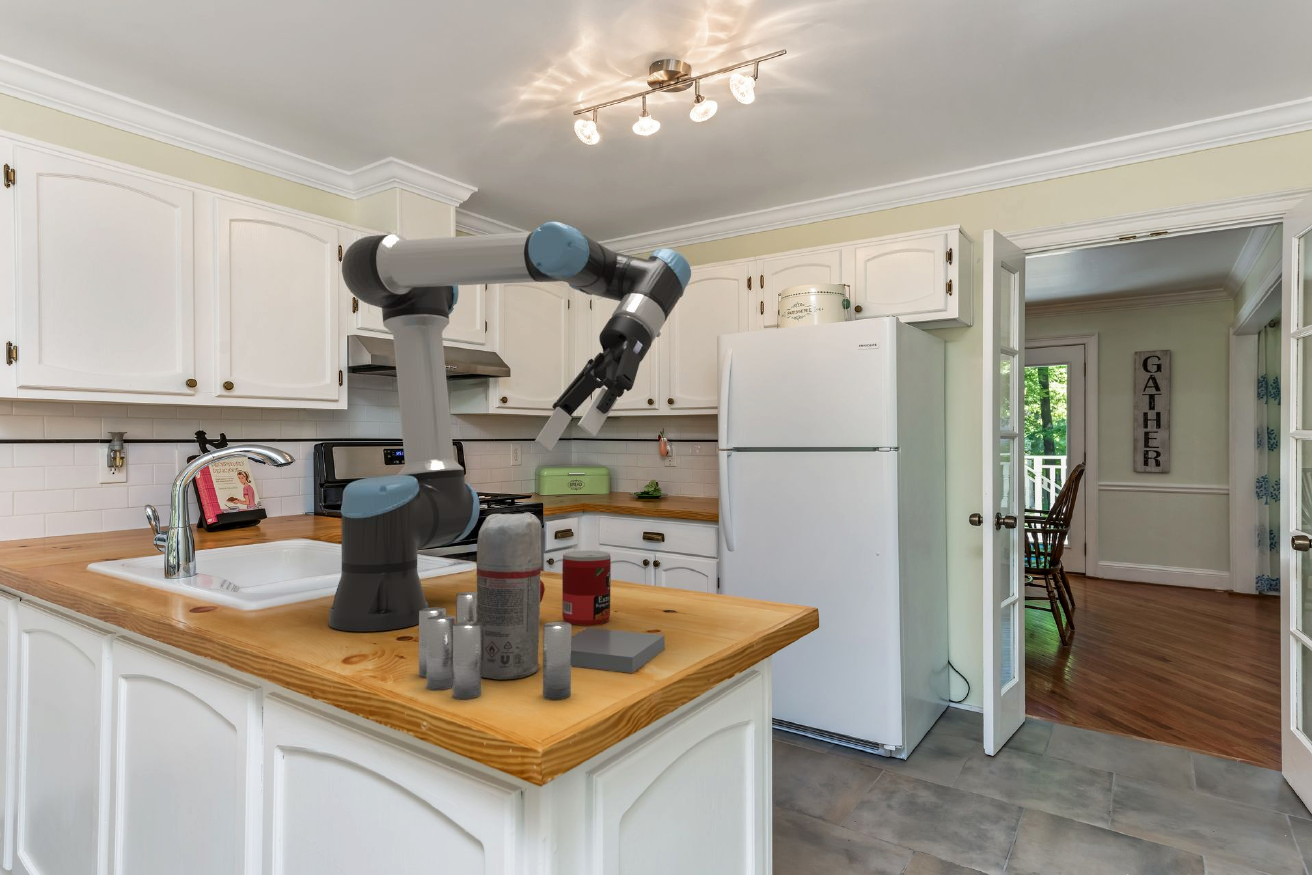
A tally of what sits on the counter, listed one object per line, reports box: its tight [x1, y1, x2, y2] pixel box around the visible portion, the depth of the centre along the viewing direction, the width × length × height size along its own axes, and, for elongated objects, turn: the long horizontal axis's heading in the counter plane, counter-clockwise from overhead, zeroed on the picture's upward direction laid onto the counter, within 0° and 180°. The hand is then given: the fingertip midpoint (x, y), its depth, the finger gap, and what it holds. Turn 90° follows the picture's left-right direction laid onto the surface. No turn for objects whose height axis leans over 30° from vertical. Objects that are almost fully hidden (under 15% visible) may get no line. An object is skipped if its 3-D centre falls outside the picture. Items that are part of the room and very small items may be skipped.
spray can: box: [476, 512, 542, 680], centre depth 95 cm, size 8×8×20 cm
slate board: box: [571, 627, 666, 674], centre depth 102 cm, size 12×12×2 cm
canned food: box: [561, 550, 612, 626], centre depth 123 cm, size 8×8×11 cm
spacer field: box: [418, 591, 572, 701], centre depth 93 cm, size 23×18×8 cm
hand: (563, 439), depth 105 cm, fingers open, 13 cm apart
